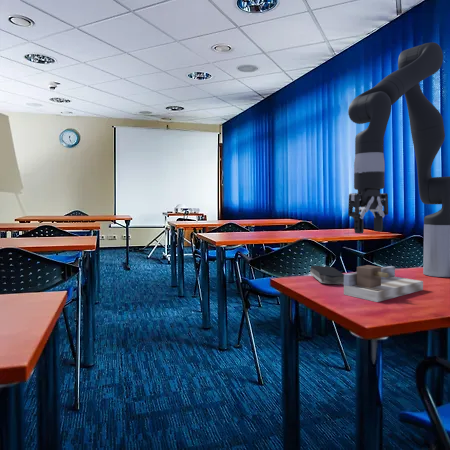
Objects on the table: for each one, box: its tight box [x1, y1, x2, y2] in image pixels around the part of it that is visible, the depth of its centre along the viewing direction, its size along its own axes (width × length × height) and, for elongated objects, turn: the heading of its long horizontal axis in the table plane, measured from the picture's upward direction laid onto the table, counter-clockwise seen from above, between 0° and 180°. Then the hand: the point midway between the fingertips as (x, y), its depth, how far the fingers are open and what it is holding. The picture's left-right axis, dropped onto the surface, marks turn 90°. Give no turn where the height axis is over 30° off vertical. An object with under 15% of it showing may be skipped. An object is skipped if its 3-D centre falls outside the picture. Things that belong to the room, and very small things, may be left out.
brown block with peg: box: [356, 264, 389, 288], centre depth 97 cm, size 5×8×5 cm, turn 35°
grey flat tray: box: [343, 265, 424, 303], centre depth 101 cm, size 22×10×6 cm, turn 125°
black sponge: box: [309, 265, 345, 286], centre depth 119 cm, size 16×8×4 cm, turn 0°
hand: (368, 232), depth 98 cm, fingers open, 8 cm apart
